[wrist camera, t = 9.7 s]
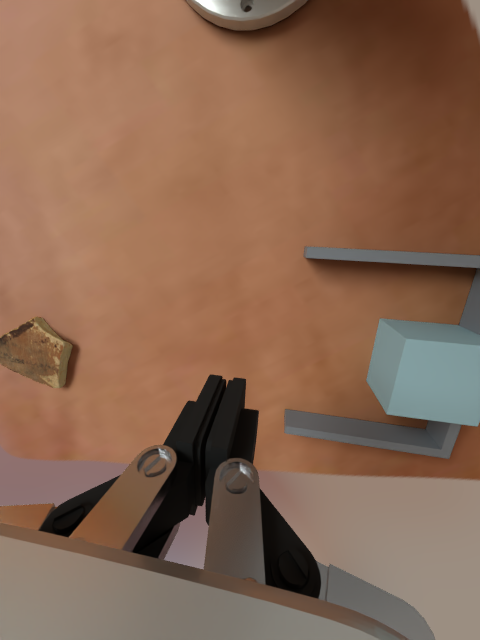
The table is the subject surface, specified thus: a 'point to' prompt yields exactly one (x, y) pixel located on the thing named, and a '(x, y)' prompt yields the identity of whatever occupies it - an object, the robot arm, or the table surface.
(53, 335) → the shard
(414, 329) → the teal block
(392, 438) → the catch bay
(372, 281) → the table surface
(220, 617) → the robot arm
